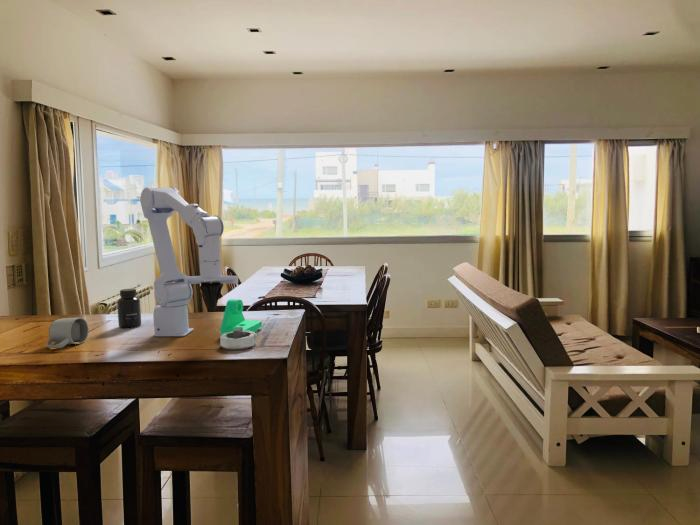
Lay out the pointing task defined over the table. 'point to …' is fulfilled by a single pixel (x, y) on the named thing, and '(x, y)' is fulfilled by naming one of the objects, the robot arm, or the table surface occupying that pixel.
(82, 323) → the ceramic mug
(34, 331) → the table surface
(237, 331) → the cap
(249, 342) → the white ring bowl
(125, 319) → the supplement bottle
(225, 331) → the camera mount
